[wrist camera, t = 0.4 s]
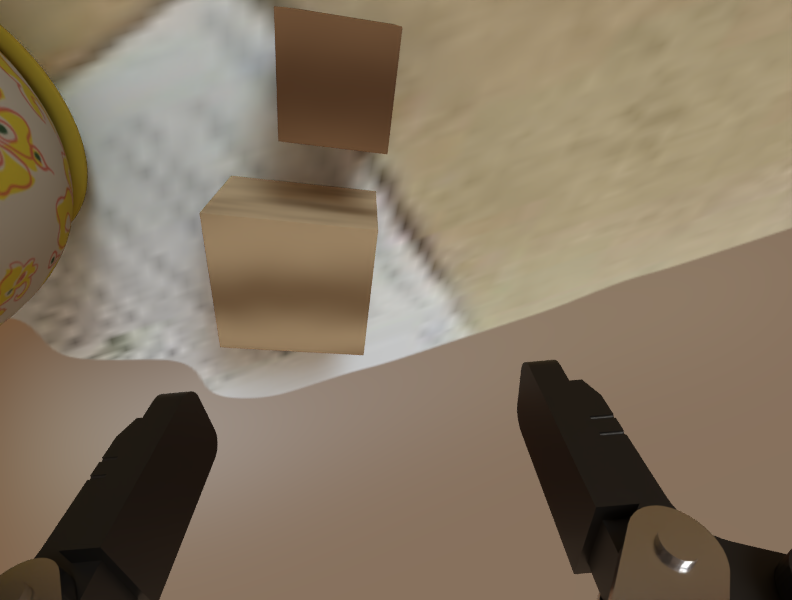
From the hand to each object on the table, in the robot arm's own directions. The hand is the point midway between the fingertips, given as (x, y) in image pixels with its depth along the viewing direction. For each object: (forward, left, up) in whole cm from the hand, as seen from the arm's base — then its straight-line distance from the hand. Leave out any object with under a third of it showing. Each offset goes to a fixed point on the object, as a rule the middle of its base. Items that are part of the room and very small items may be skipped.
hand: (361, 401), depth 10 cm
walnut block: (-5, -2, -19) cm, 19 cm away
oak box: (+6, -4, -19) cm, 20 cm away
